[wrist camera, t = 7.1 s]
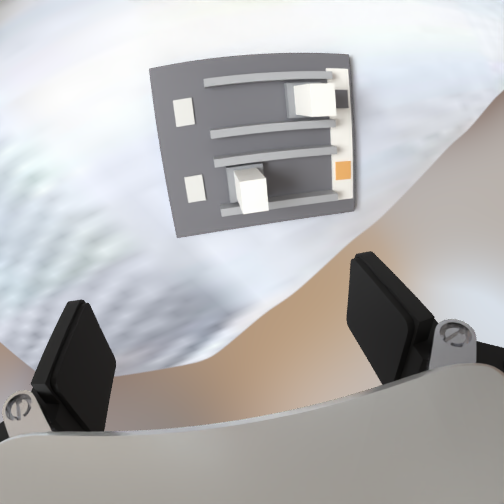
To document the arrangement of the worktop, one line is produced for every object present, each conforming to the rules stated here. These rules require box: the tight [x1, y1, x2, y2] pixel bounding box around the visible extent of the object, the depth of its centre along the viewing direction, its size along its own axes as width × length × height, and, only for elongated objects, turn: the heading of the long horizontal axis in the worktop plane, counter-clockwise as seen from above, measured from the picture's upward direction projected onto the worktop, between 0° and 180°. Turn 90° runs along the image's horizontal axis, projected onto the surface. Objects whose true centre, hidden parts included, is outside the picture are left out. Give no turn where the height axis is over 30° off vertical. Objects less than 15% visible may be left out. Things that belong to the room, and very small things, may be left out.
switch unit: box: [149, 53, 355, 238], centre depth 27 cm, size 18×16×2 cm
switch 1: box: [226, 162, 269, 214], centre depth 26 cm, size 3×3×5 cm
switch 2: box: [284, 82, 337, 118], centre depth 24 cm, size 3×3×5 cm
